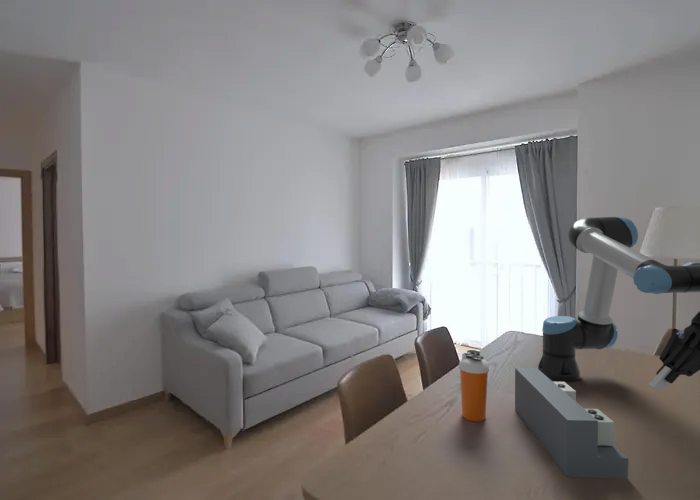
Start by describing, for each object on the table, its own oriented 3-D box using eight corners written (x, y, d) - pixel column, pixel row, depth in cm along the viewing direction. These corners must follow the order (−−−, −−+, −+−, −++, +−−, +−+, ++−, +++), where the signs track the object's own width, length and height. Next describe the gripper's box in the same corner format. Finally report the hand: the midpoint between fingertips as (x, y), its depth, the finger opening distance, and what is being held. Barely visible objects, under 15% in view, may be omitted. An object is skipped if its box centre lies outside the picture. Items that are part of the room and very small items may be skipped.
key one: (564, 400, 118) (564, 380, 117) (575, 411, 111) (575, 390, 110) (547, 400, 118) (547, 380, 118) (558, 410, 111) (558, 390, 111)
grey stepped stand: (558, 410, 122) (559, 368, 122) (627, 478, 89) (629, 421, 88) (515, 409, 123) (515, 367, 123) (566, 476, 90) (567, 420, 89)
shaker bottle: (474, 426, 113) (474, 361, 112) (453, 413, 121) (453, 353, 120) (494, 418, 118) (494, 356, 117) (473, 407, 125) (473, 348, 124)
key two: (597, 430, 100) (597, 407, 99) (613, 445, 93) (614, 421, 92) (577, 430, 100) (578, 407, 100) (592, 445, 93) (593, 420, 93)
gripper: (755, 337, 89) (687, 410, 92) (703, 317, 102) (644, 382, 105) (734, 320, 88) (665, 395, 91) (684, 302, 101) (625, 368, 104)
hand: (654, 388), depth 98 cm, fingers closed
